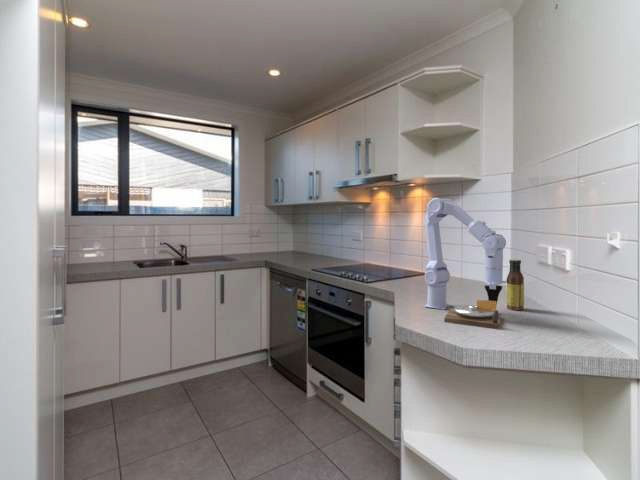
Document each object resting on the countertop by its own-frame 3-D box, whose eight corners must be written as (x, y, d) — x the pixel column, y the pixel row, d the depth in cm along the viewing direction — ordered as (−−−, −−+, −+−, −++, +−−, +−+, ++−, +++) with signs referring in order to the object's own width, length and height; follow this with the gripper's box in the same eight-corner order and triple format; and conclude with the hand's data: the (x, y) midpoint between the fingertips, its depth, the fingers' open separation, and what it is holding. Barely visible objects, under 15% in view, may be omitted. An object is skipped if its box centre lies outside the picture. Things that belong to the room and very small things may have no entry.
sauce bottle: (517, 307, 144) (519, 258, 143) (527, 310, 138) (529, 260, 137) (502, 307, 144) (503, 258, 143) (511, 310, 137) (512, 260, 136)
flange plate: (458, 306, 134) (458, 295, 134) (497, 311, 127) (497, 299, 126) (450, 313, 123) (450, 301, 123) (492, 319, 116) (492, 307, 116)
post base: (451, 311, 136) (451, 297, 136) (500, 317, 128) (501, 302, 128) (444, 321, 122) (444, 306, 122) (499, 329, 114) (499, 312, 114)
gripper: (506, 271, 117) (505, 311, 118) (506, 266, 130) (505, 302, 131) (483, 270, 121) (482, 309, 121) (485, 265, 133) (484, 300, 134)
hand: (492, 305), depth 126 cm, fingers closed, pressing on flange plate
